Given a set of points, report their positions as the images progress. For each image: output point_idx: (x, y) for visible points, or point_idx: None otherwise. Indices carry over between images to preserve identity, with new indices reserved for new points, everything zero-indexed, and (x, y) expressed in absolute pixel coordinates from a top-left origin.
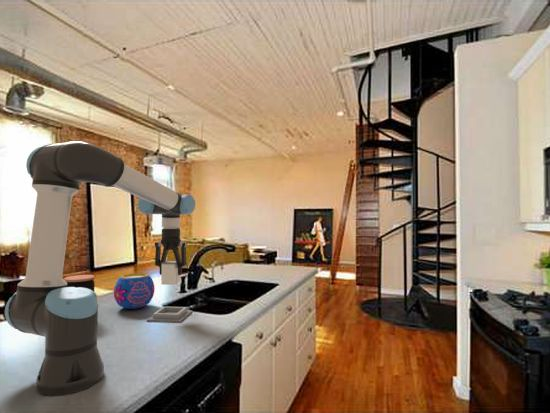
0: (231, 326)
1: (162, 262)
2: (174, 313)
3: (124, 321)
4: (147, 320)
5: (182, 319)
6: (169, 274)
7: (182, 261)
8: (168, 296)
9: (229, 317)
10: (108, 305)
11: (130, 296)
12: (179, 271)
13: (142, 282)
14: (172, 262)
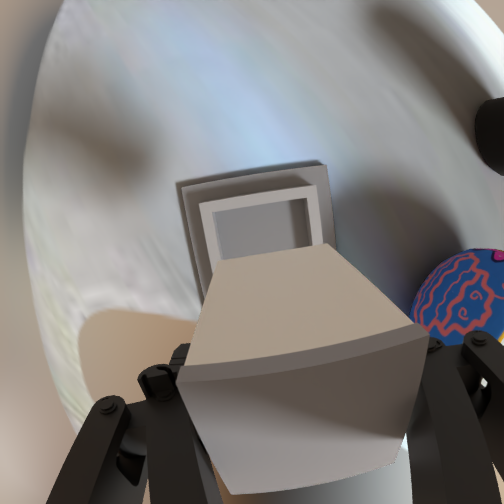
0: (26, 210)
1: (427, 383)
2: None
3: (399, 151)
4: (322, 165)
5: (186, 213)
6: (263, 285)
7: (98, 438)
8: None
9: (63, 288)
10: None
11: (468, 258)
12: (181, 364)
13: (473, 327)
14: (254, 421)
